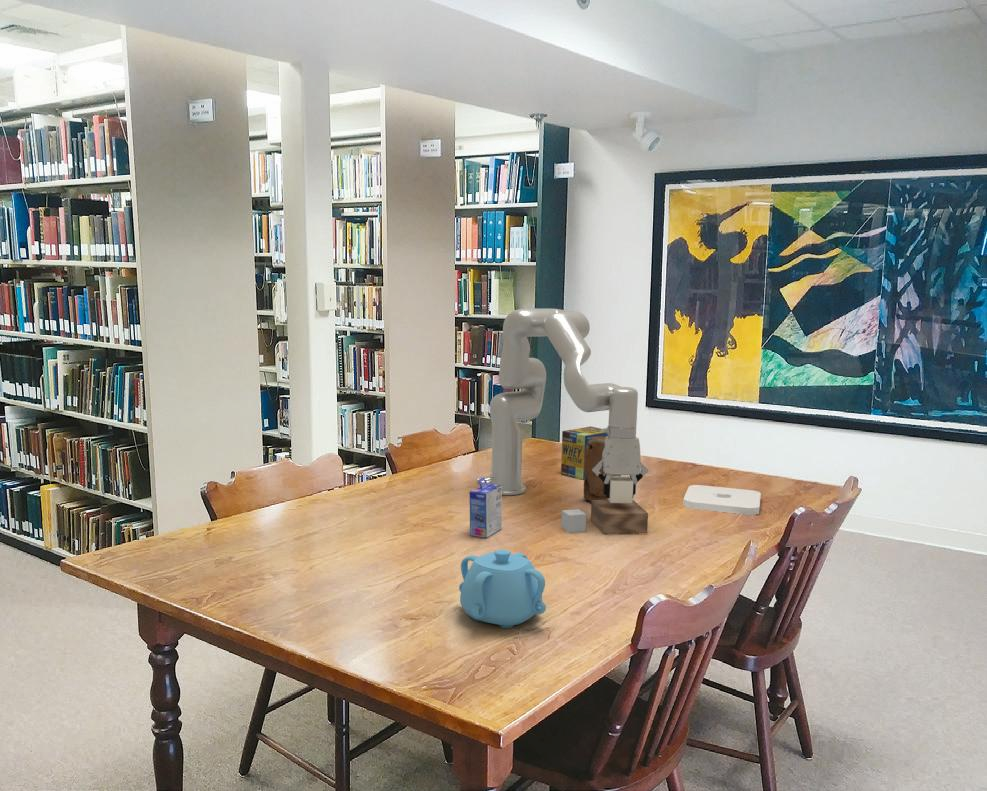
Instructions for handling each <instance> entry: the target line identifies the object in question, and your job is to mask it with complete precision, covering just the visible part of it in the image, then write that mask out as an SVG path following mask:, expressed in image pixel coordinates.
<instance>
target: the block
mask: <svg viewBox="0 0 987 791" xmlns="http://www.w3.org/2000/svg"><path fill="white" fill-rule="evenodd" d="M605 438H606V436H605V437H604V436H597V437H594V438H592V439H591V440H590V441H589V442H588V444H587V446H586V450H585V458H584V474H585V478H584V480H583V498H584V500H586V501H589V502H591V500H608V499H607V498H606V496H605V495H604V494H603V486H604V482H603V481H602V480H601V479H600V478H599V477H598V476H597V475H596V474H595V473H594V472H593V471H592V469H593V468H594V467H595V466H596V465H597V464H598V463H599V462H600V461H601V460H602V453H603V447H604V442H605ZM599 471H600V472H601V473H602V474H603V476H604V474H605V472H604V471H603V470H602V468H601V469H600V470H599ZM612 476H622V475H612Z"/></svg>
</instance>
